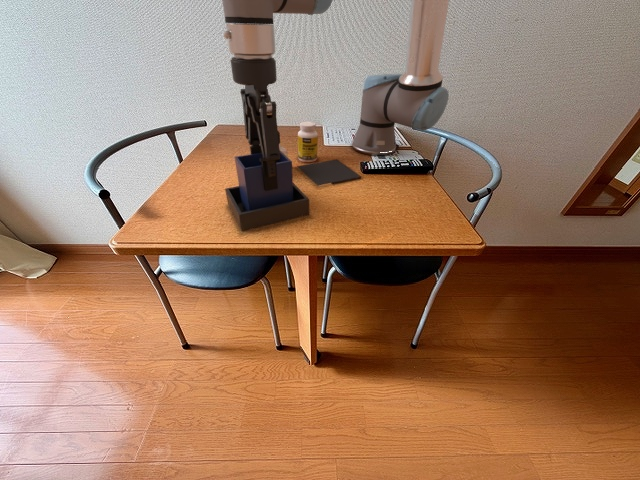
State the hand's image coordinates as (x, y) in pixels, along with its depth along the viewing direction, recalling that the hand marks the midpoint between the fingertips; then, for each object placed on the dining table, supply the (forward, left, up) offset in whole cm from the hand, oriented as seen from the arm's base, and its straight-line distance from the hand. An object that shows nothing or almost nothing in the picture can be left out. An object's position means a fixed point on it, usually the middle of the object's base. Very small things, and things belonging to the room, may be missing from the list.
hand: (265, 181), depth 62 cm
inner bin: (0, 0, -7) cm, 7 cm away
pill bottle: (-22, -25, -8) cm, 34 cm away
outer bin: (0, 0, -8) cm, 8 cm away
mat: (-23, -13, -8) cm, 27 cm away
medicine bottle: (-8, -20, -8) cm, 23 cm away
